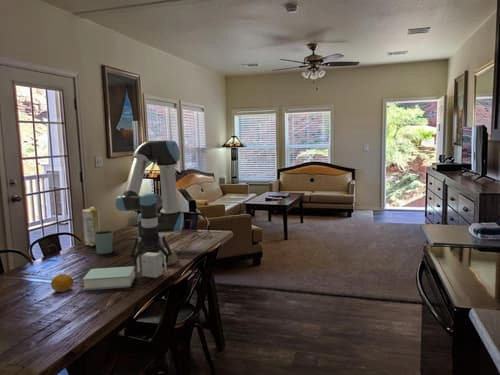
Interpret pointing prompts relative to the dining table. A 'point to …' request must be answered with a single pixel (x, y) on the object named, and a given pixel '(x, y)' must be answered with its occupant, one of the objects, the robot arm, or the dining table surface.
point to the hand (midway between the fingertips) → (152, 270)
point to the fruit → (62, 282)
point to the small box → (151, 264)
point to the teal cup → (103, 241)
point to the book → (109, 278)
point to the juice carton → (90, 225)
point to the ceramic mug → (172, 258)
